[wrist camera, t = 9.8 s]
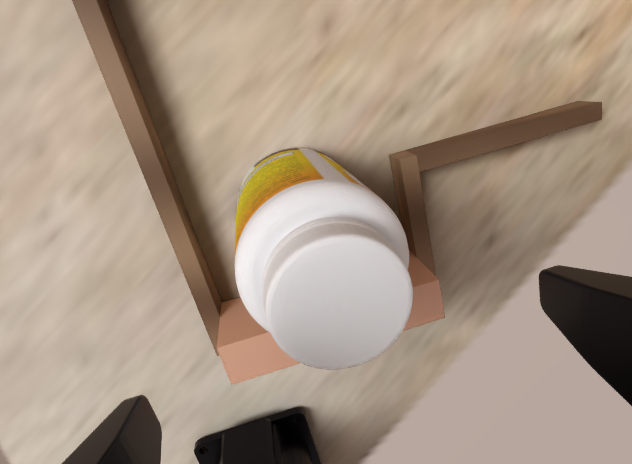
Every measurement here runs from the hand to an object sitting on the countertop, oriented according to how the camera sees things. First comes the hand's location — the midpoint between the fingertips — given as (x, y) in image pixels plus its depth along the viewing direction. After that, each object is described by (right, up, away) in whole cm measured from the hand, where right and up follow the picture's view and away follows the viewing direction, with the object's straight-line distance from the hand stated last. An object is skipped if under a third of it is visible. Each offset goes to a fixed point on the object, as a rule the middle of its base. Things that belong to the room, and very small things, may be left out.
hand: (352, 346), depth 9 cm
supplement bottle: (-2, +4, +11) cm, 12 cm away
